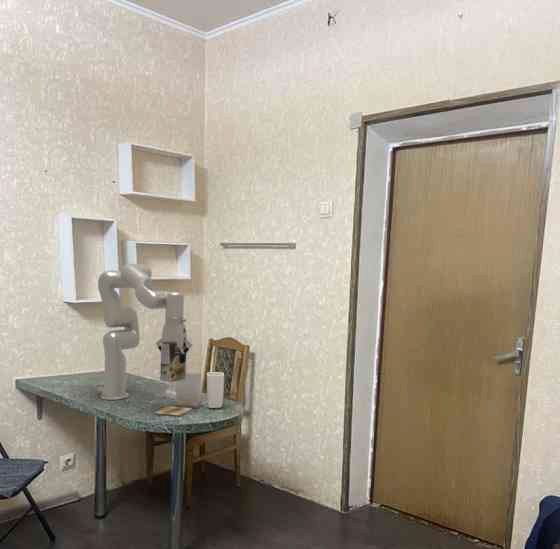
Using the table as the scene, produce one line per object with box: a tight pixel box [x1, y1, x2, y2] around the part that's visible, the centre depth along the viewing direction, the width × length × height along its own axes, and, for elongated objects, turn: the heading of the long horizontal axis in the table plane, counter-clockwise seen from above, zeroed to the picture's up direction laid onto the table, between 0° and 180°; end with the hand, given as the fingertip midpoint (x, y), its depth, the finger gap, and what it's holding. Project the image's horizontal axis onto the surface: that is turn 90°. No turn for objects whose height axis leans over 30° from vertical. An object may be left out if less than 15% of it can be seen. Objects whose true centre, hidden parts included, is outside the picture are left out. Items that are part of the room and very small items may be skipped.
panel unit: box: [172, 372, 204, 410], centre depth 215 cm, size 12×6×14 cm, turn 75°
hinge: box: [163, 381, 176, 400], centre depth 233 cm, size 17×5×10 cm, turn 43°
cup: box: [206, 371, 225, 409], centre depth 214 cm, size 7×7×15 cm
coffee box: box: [159, 342, 187, 383], centre depth 206 cm, size 9×6×16 cm
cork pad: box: [153, 405, 192, 417], centre depth 206 cm, size 12×11×1 cm
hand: (173, 362), depth 206 cm, fingers closed on coffee box, 7 cm apart
